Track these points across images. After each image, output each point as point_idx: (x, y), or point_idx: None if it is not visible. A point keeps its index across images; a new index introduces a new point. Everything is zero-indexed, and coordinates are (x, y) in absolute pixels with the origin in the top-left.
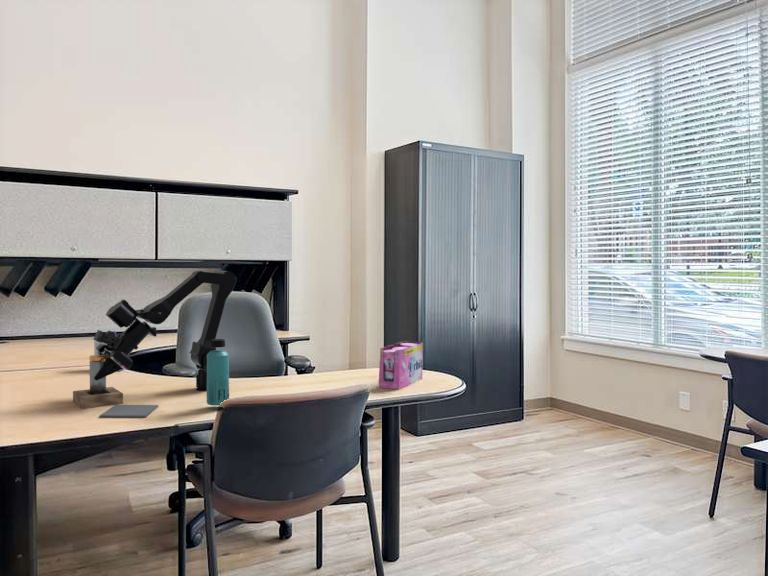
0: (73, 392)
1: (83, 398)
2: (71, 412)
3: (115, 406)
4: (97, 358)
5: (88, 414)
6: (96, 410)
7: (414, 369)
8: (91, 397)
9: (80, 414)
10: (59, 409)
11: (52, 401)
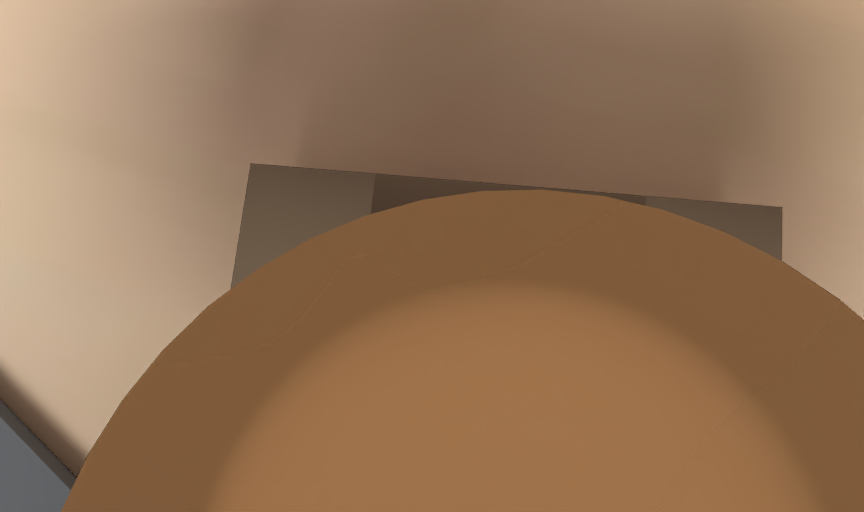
0: (743, 208)
1: (252, 179)
2: (206, 70)
3: (23, 485)
4: (123, 477)
5: (11, 169)
6: (111, 288)
7: None
8: (236, 275)
9: (66, 111)
10: (412, 19)
11: (853, 63)
